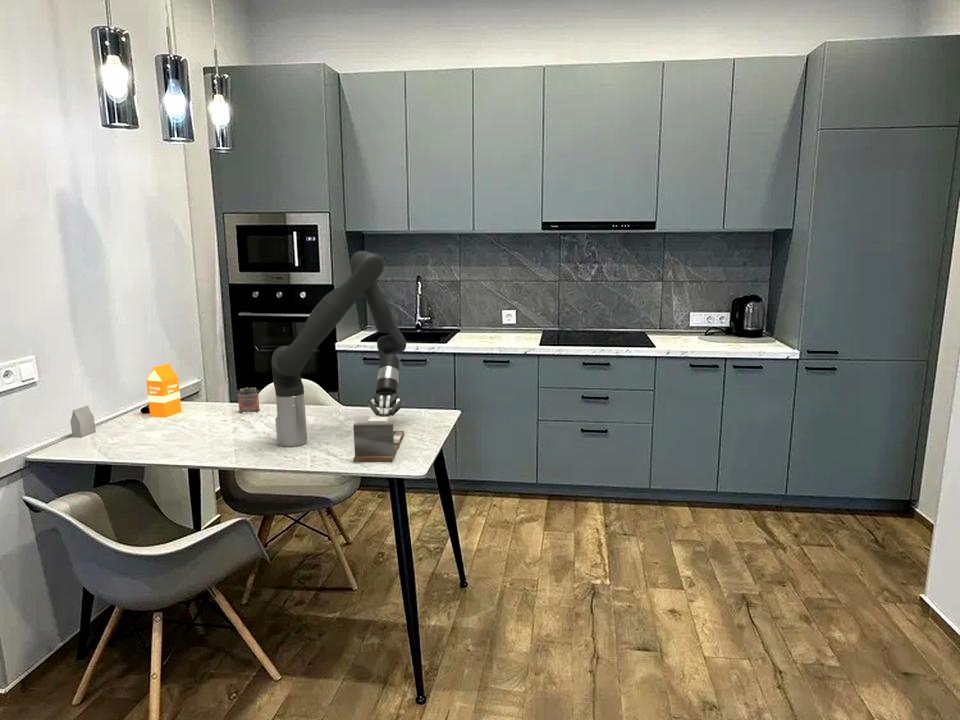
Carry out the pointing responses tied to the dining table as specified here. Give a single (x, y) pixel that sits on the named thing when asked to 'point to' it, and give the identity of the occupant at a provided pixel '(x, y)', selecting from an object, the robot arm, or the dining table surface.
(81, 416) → the grey house block
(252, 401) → the red container
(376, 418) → the block
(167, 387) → the orange juice
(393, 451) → the base
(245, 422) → the dining table surface
